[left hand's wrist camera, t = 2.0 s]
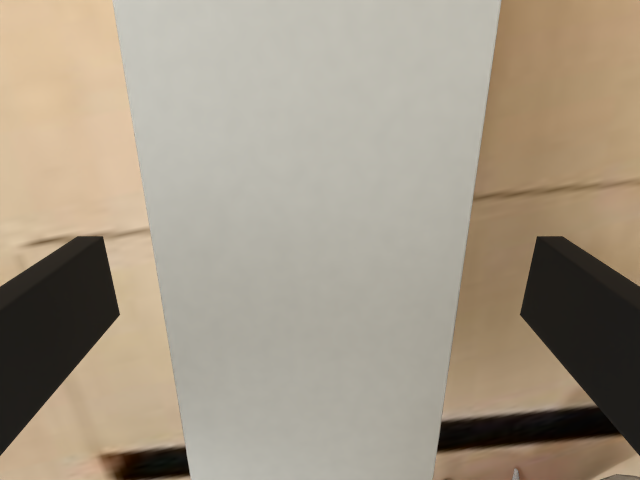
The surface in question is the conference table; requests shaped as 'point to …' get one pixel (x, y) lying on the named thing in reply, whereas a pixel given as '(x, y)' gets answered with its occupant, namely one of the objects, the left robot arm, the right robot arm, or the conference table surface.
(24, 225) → the conference table surface
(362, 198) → the box
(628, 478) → the fish
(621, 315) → the left robot arm
